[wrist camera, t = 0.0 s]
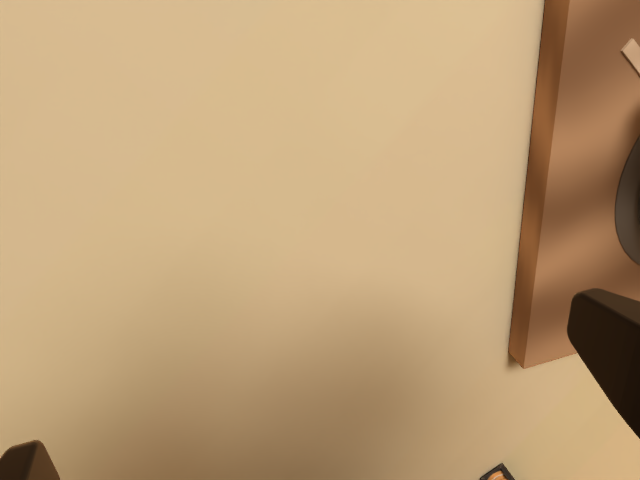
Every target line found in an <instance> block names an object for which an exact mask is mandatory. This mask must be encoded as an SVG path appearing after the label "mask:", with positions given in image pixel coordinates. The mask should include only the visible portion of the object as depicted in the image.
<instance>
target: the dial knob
mask: <svg viewBox="0 0 640 480" xmlns="http://www.w3.org/2000/svg"><path fill="white" fill-rule="evenodd" d="M638 217H639V225H640V197H639V204H638Z"/></svg>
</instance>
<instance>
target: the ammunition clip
mask: <svg viewBox="0 0 640 480" xmlns="http://www.w3.org/2000/svg"><path fill="white" fill-rule="evenodd" d="M480 480H515V479H514V478H513V476H512V475H511V474H510V472H509V471H508V470H507V468H506V467H505V466H504V464H503V463H502V464H501V465H499V466H498V467H496V468H495V469H493V470H492V471H491V472H489V473H488V474H486V475H485V476H483V477H482V478H480Z"/></svg>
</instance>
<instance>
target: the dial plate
mask: <svg viewBox="0 0 640 480" xmlns="http://www.w3.org/2000/svg"><path fill="white" fill-rule="evenodd" d="M639 197H640V0H545V8H544V18H543V27H542V37H541V46H540V56H539V65H538V75H537V85H536V94H535V104H534V113H533V123H532V132H531V142H530V151H529V161H528V170H527V180H526V189H525V199H524V208H523V218H522V227H521V237H520V246H519V256H518V266H517V275H516V285H515V294H514V304H513V313H512V323H511V332H510V342H509V351H508V352H509V353H510V354H511V355H512V357H513V358H514V359H515V360H516V361H517V362H518V363H519V364H520V365H521V367H522V368H523V369H525V368H529V367H532V366H535V365H539V364H542V363H545V362H549V361H552V360H555V359H559V358H562V357H565V356H569V355H572V354H576V353H577V351H576V350H575V348H574V347H573V346H572V344H571V342H570V340H569V338H568V335H567V323H568V317H569V311H570V305H571V300H572V297H573V296H574V294H576V293H577V292H580V291H584V290H588V289H591V288H599V289H603V290H606V291H609V292H612V293H615V294H618V295H621V296H624V297H628V298H631V299H634V300H637V301H640V225H639V217H638V204H639Z"/></svg>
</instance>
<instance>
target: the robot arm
mask: <svg viewBox="0 0 640 480" xmlns="http://www.w3.org/2000/svg"><path fill="white" fill-rule="evenodd" d="M567 335H568V338H569V340H570V342H571V344H572V346H573V347H574V348H575V350H576V351H577V353H578V354H579V356H580V357H581V359H582V360H583V362H584V363H585V365H586V366H587V368H588V369H589V371H590V372H591V374H592V375H593V377H594V378H595V380H596V381H597V382H598V384H599V385H600V387H601V388H602V390H603V391H604V393H605V394H606V396H607V397H608V399H609V400H610V402H611V403H612V404H613V406H614V407H615V409H616V410H617V411H618V413H619V414H620V415H621V417H622V418H623V419H624V420H625V422H626V423H627V424H628V425H629V427H630V428H631V429H632V430H633V431H634V433H635V434H636V435H637V436H638V437H639V439H640V301H637V300H634V299H631V298H628V297H624V296H621V295H618V294H615V293H612V292H609V291H606V290H603V289H599V288H591V289H588V290H584V291H580V292H577V293H576V294H574V296H573V297H572V300H571V305H570V311H569V317H568V323H567ZM0 480H60V478H59V475H58V473H57V471H56V469H55V467H54V465H53V462H52V460H51V458H50V456H49V454H48V452H47V450H46V448H45V446H44V445H43V443H42V442H40V441H38V440H34V441H30V442H26V443H23V444H19V445H15V446H12V447H10V448H9V449H8V450H7V451H6V452H5V453H4V454H3V456H2V457H1V458H0Z"/></svg>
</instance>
